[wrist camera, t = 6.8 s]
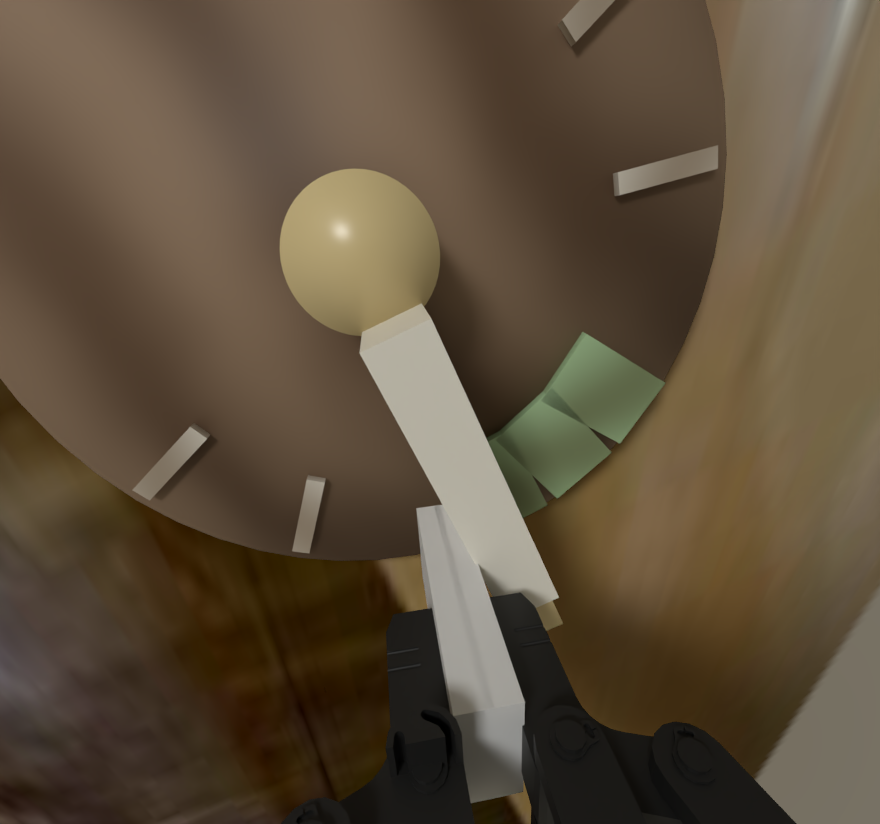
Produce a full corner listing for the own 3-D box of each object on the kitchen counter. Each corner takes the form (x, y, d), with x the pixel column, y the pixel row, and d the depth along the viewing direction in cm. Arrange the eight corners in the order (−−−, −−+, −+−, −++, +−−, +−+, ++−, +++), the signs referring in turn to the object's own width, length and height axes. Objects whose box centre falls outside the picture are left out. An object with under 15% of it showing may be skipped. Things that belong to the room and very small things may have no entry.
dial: (325, -679, 8) (315, -873, 6) (805, 256, 16) (847, 259, 14) (-231, 242, 12) (-312, 244, 10) (381, 623, 20) (381, 652, 18)
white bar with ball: (271, 217, 12) (215, 210, 8) (393, 156, 12) (403, 114, 7) (459, 552, 17) (486, 657, 13) (545, 513, 17) (601, 606, 13)
